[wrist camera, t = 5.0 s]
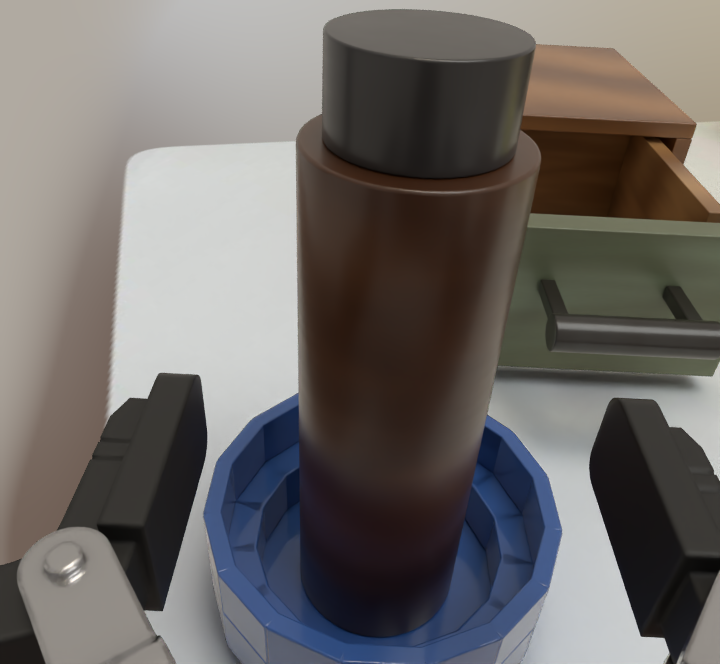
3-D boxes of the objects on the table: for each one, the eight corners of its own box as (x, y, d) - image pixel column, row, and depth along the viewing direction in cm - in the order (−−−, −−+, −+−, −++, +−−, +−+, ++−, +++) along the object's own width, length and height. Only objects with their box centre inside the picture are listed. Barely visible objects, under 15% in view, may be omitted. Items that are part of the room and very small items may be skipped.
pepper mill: (293, 634, 20) (278, 60, 10) (307, 502, 24) (306, -2, 14) (457, 642, 20) (597, 77, 10) (445, 509, 24) (537, 11, 14)
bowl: (184, 734, 18) (165, 655, 15) (244, 454, 26) (238, 373, 23) (562, 751, 18) (601, 674, 16) (505, 466, 26) (525, 388, 24)
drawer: (752, 441, 26) (832, 296, 22) (461, 427, 26) (489, 278, 22) (622, 231, 40) (657, 118, 36) (432, 221, 40) (446, 107, 36)
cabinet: (646, 273, 38) (698, 123, 33) (424, 262, 38) (442, 110, 33) (583, 170, 50) (614, 48, 45) (413, 161, 50) (425, 37, 45)
